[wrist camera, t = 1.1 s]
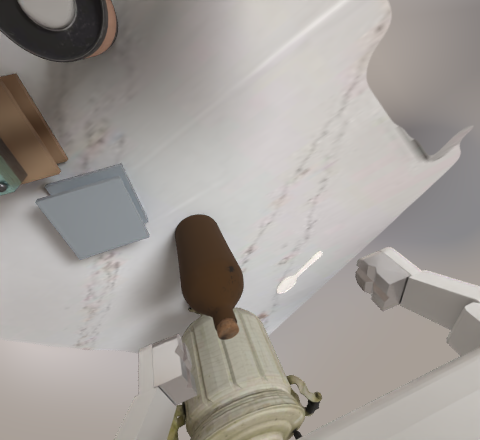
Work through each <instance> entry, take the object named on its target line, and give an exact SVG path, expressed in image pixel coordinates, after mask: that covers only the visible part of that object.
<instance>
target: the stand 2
mask: <svg viewBox="0 0 480 440" xmlns="http://www.w3.org/2000/svg"><path fill="white" fill-rule="evenodd" d="M45 188H46V190H47V191H48V192H49V194H50V196H47V197H43V198H40V199H37V201H36V202H35V203H36V204H37V205H38V207H39V208H40V209H41V211H42V212H43V213H44V214H45V216H46V217H47V218H48V220H49V221H50V222H51V223H52V225H53V226H54V227H55V229H56V230H57V231H58V232H59V234H60V235H61V236H62V238H63V239H64V240H65V241H66V243H67V244H68V245H69V247H70V248H71V249H72V250H73V252H74V253H75V254H76V256H77V257H78V258H79V259H80V260H82V259H85V258H88V257H91V256H94V255H97V254H100V253H103V252H106V251H109V250H112V249H115V248H118V247H121V246H124V245H127V244H130V243H133V242H136V241H139V240H142V239H145V238H148V237H149V233H148V231H147V229H146V227H145V225H144V223H147V222H148V218H147V216H146V214H145V212H144V210H143V208H142V205H141V203H140V201H139V199H138V197H137V195H136V193H135V191H134V189H133V187H132V185H131V183H130V181H129V179H128V176H127V174H126V172H125V170H124V168H123V166H122V164H118V165H114V166H111V167H107V168H104V169H100V170H96V171H93V172H89V173H86V174H82V175H79V176H75V177H72V178H68V179H64V180H61V181H57V182H54V183H50V184H47V185H46V186H45Z"/></svg>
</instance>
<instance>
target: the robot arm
mask: <svg viewBox="0 0 480 440" xmlns="http://www.w3.org/2000/svg"><path fill="white" fill-rule="evenodd" d="M357 266H358V267H359V268H358V270H357V271H356V280H357V283H358V284H359V286H360V287H361V288H362V290H363V291H364V292H367V293H369V294H371V299H372V300H373V302H374V303H375V304H376V305H377V306H378V307H379V308H380V309H381V310H382V311H385V310H387V309H389V308H392V307H394V306H397V305H399V304H400V306H402V307H404V308H406V309H409V310H411V311H413V312H415V313H417V314H419V315H421V316H423V317H425V318H427V319H429V320H431V321H433V322H435V323H438V324H439V325H442V326H444V327H446V328H448V329H450V330H451V332H450V333H449V335H448V337H447V343H448V344H449V345H450V346H451V347H452V348H453V349H454V350H455V351H456V352H457V353H458V354H459V355H460V357H458V358H456V359H454V360H452V361H450V362H448V363H446V364H444V365H442V366H440V367H438V368H436V369H434V370H432V371H430V372H429V373H426V374H425V375H423V376H421V377H419V378H417V379H415V380H413V381H411V382H409V383H407V384H405V385H403V386H401V387H399V388H397V389H395V390H393V391H391V392H389V393H387V394H385V395H383V396H381V397H379V398H377V399H375V400H373V401H371V402H370V403H367V404H365V405H364V406H362V407H360V408H358V409H356V410H354V411H352V412H350V413H348V414H346V415H344V416H342V417H340V418H338V419H336V420H334V421H332V422H330V423H328V424H326V425H324V426H322V427H320V428H318V429H316V430H315V431H312V432H311V433H308V434H307V435H305V436H303V437H301V438H299V439H297V440H480V286H476V285H473V284H470V283H467V282H463V281H460V280H457V279H453V278H450V277H447V276H443V275H440V274H437V273H434V272H430V271H427V270H424V271H421V270H420V269H419V268H418V267H416V266H415V265H414V264H412V263H411V262H410V261H409V260H407V259H406V258H405V257H403V256H402V255H401V254H399V253H398V252H397V251H396V250H394V249H393V248H391V247H387V248H384V249H382V250H380V251H376V252H374V253H372V254H369V255H367V256H365V257H363V258H360V259H359V260H358V261H357ZM138 358H139V395H137V396H135V397H134V399H133V401H132V404H131V405H130V408H129V410H128V412H127V414H126V416H125V418H124V420H123V422H122V424H121V426H120V428H119V430H118V433H117V435H116V437H115V439H114V440H167V438H168V434H169V431H170V428H171V424H172V421H173V417H174V414H175V411H176V405H178V404H180V403H182V402H184V401H186V400H189V399H191V398H193V397H195V396H197V390H196V384H195V378H194V376H193V375H192V373H191V372H190V371H191V368H192V362H191V357H190V354H189V350H188V348H187V346H186V344H185V343H182V338H181V336H180V335H179V334H176V335H173V336H171V337H168V338H166V339H163V340H161V341H158V342H156V343H153V344H151V345H148V346H146V347H143V348H141V349H140V350H139V355H138Z"/></svg>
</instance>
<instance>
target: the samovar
mask: <svg viewBox="0 0 480 440" xmlns="http://www.w3.org/2000/svg"><path fill="white" fill-rule="evenodd" d="M189 311H190V312H195V313H198V312H196V311H195V310H193V309H189ZM233 312H234V314H235V316H236V319H237V324H238V327H239V332H238V334H237V335H236V336H234V337H233V338H231V339H227V340H221V339H219V337H218V334H217V331H216V330H215V326H214V322H213V318H212V317H210V316H207V315H204V314H201V313H198V314H201V317H200V318H198V319H197V320H196V321H194V322H193V323H191V325H190V326H189V327H188V329H187V330H186V331H185V333H184V335H183V336H182V343H185V344H186V346H187V348H188V350H189V354H190V357H191V362H192V368H191V371H190V372H191V373H192V375H193V376H194V378H195V384H196V390H197V396H195V397H193V398H191V399H189V400H186V401H184V402H182V405H177V406H176V411H175V414H174V417H173V421H172V424H171V428H170V431H169V434H168V438H167V440H178V429H179V427H181V426H183V425H185V422H186V429H187V432H188V434H189V435H190V437H191V439H190V440H288V439H290V438H291V437H292V436H293V435H294V436H295V438H296V440H297V439H299V438H301V437H303V436H301V434H300V432H298V431H297V430H298V429H299V428H300V426H301V424H302V422H303V421H304V419H305V416H311V415H312V414H313V413H314V411H315V410H316V409H318V408H319V403H320V401H321V399H322V396H321V394H320V393H319V392H315V393H314V394H313V393H310V392H309V391H308V389H307V387H306V385H305V383H304V381H302V380H301V379H299V378H298V377H296V376H294V375H289V376H286V375H285V373H284V371H283V368H282V367H281V364H280V362H279V359H278V357H277V355H276V353H275V350H274V348H273V346H272V344H271V342H270V339H269V337H268V335H267V333H266V330H265V328H264V326H263V324H262V322H261V321H260V320H259V319H258V317H256V316H255V315H254V314H252V313H251V312H249V311H246V310H244V309H241V308H234V309H233ZM291 384H296V385H297V386H298V388H299V390H300V393H301V394H303V395H304V396H305V397H306V398H307V399H308V405H307V407H303V406H302V405H301V403H300V400H299V397H298V395H297V394H296V393H295V392H294V391H293V390H292V388H291V386H290V385H291ZM177 416H179V418H177Z"/></svg>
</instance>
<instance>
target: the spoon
mask: <svg viewBox="0 0 480 440" xmlns="http://www.w3.org/2000/svg"><path fill="white" fill-rule="evenodd" d="M322 254H323V253H322V252H321V251H318V252H317V253H316V254H315V255H314V256H313V257H312V258H311V259H310V260H309V261H308V262H307V263H306V264H305V265H304V266H303V267H302V268H301V269H300V270H299V271H298V272H297V273H296V274H295V275H294V276H290V277H288V278H286V279H284V280H283V281H282V282H281V283H280V284H279V286H278V288H277V293H279V294H281V293H284V292H286V291H288V290H289V289H291V288H292V287H293V286H294V285H295V283H296V281H297V277H298V276H299V275H300V274H301V273H302V272H303V271H305V270H306V269H307V268H308V267H310V265H312V263H314V262H315V261H316V260H317V259H318V258H319V257H320V256H321V255H322Z"/></svg>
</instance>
